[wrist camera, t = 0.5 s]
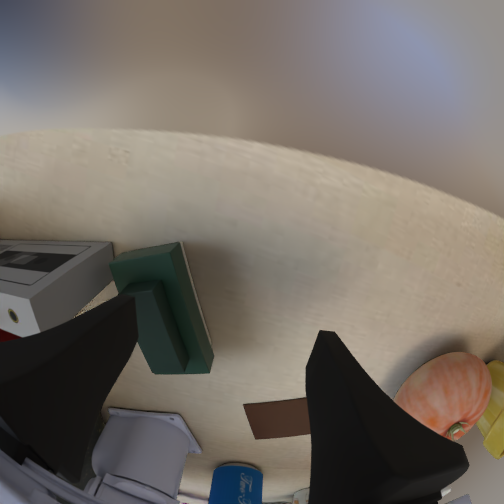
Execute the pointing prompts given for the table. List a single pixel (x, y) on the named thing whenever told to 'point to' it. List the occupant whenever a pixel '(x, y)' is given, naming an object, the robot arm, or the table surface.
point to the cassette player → (49, 281)
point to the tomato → (447, 393)
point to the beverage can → (236, 485)
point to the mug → (301, 497)
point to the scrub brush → (165, 309)
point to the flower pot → (494, 412)
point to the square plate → (278, 418)
